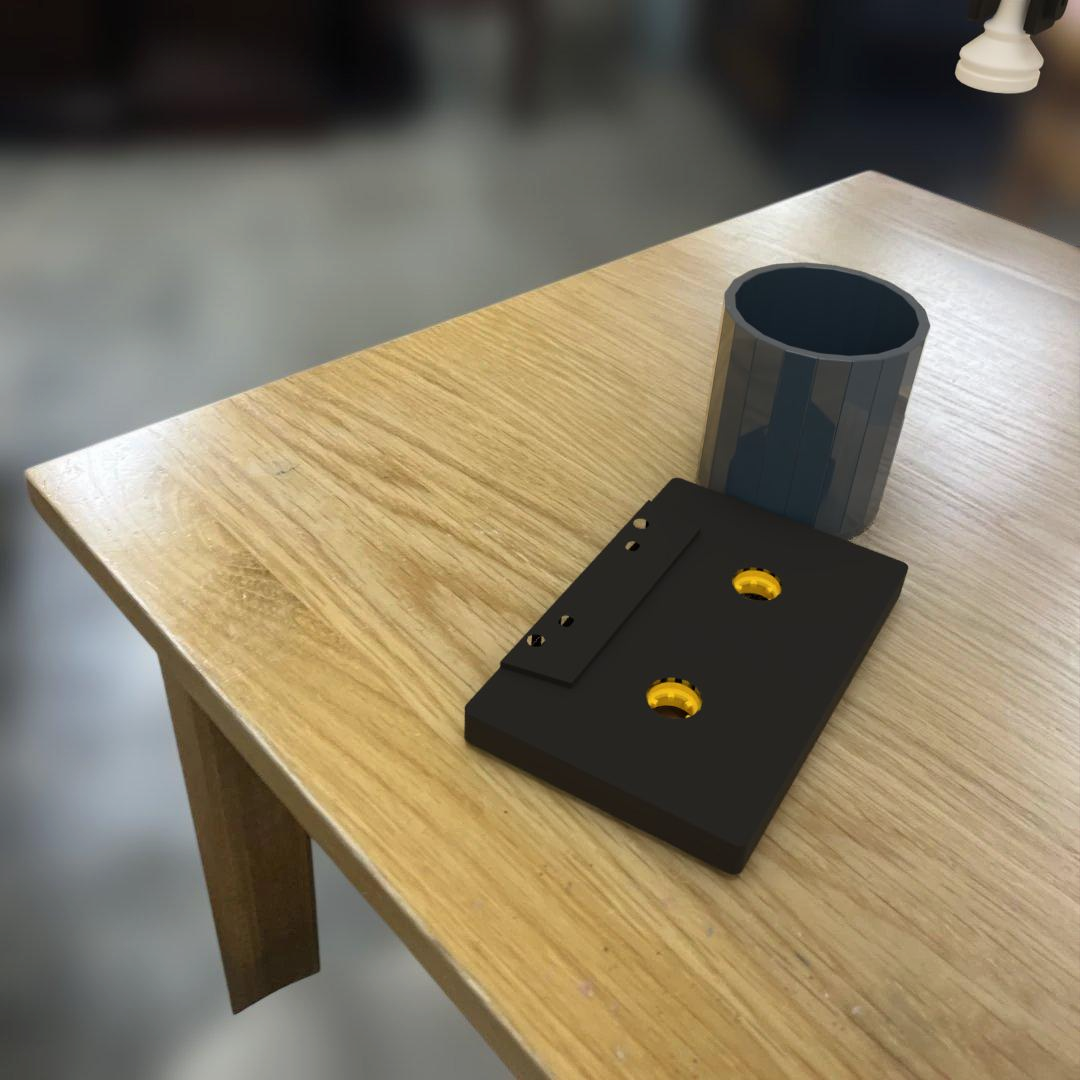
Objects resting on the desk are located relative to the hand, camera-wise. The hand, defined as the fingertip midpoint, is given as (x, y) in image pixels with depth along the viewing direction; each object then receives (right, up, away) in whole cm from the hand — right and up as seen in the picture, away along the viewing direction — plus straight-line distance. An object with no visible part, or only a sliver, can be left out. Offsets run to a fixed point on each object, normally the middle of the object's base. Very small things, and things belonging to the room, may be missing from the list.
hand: (1010, 20), depth 75 cm
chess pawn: (0, -3, +2) cm, 4 cm away
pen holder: (-16, -29, -14) cm, 36 cm away
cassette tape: (-22, -37, -24) cm, 49 cm away
